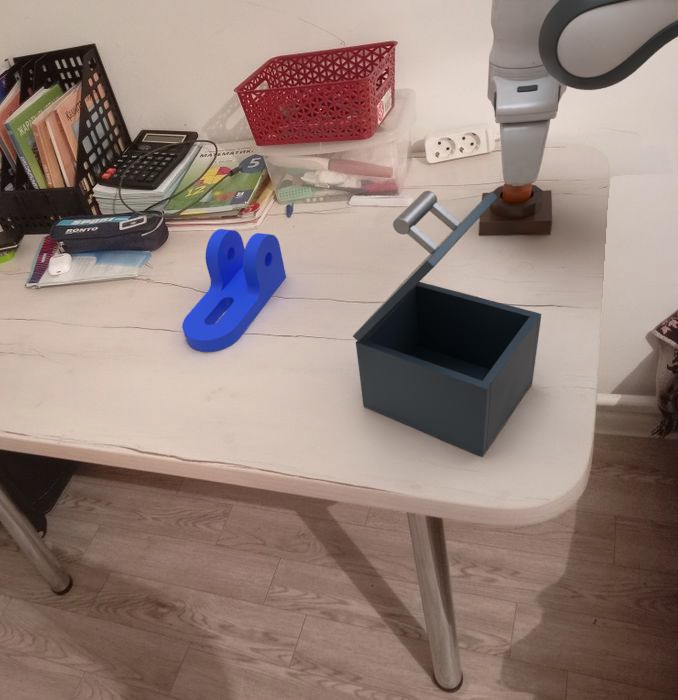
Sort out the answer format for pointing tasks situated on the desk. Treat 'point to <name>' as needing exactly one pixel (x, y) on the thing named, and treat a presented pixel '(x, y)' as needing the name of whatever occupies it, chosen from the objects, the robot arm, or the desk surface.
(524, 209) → the control block
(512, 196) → the button
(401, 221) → the box lid
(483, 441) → the open box
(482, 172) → the desk surface
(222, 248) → the bracket
